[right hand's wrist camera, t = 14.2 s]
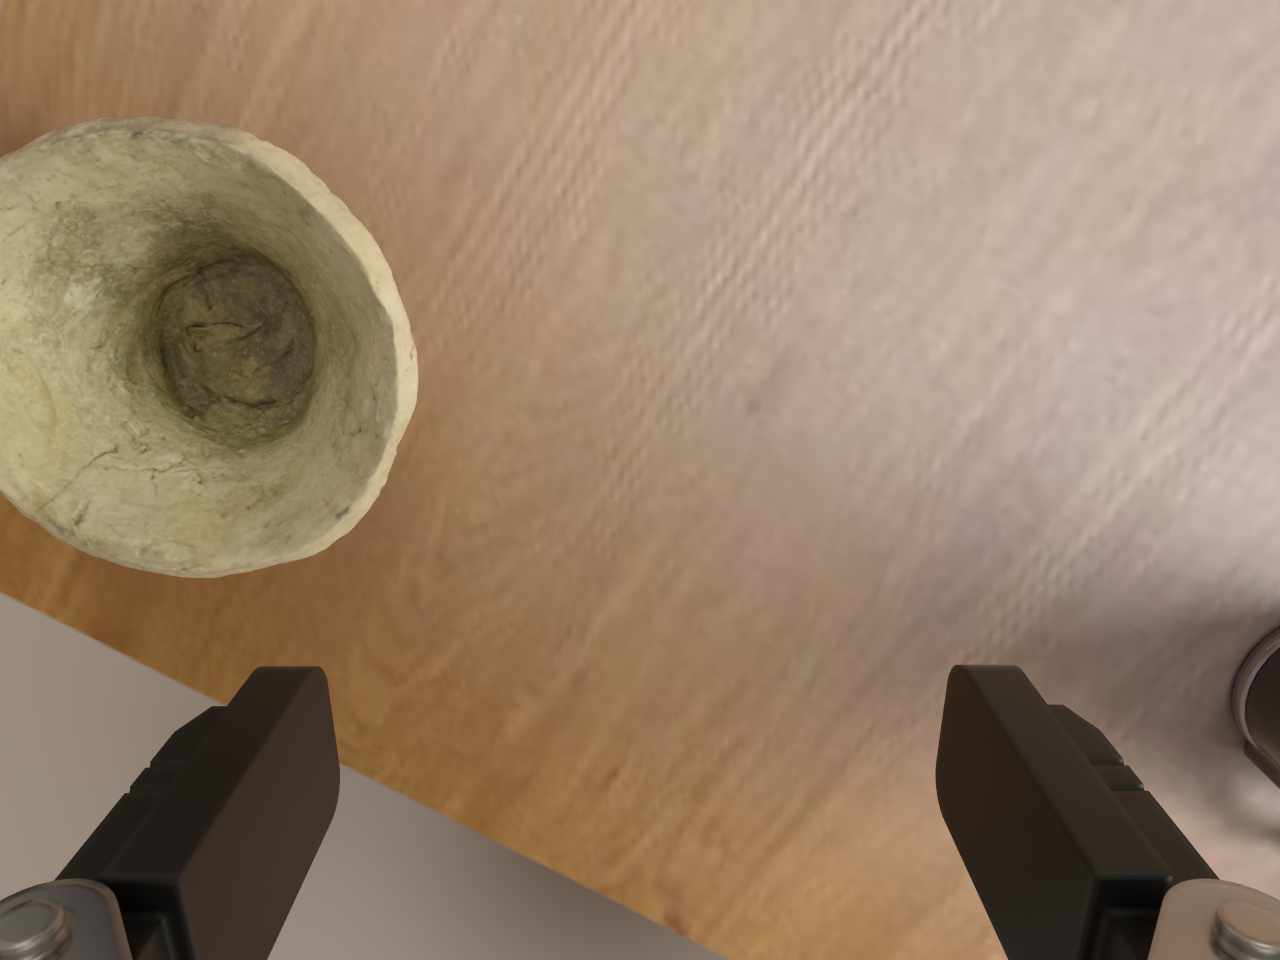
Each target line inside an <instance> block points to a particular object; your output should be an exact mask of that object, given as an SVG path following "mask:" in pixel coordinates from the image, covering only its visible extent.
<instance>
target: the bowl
mask: <svg viewBox="0 0 1280 960" xmlns="http://www.w3.org/2000/svg"><path fill="white" fill-rule="evenodd" d="M417 389H418V363H417V351H416V347H415V344H414V341H413V339H412V334H411V330H410V323H409V320H408V317H407V314H406V311H405V309H404V306H403V303H402V301H401V298H400V296H399V294H398V291H397V287H396V284H395V282H394V280H393V277H392V272H391V269H390V267H389V265H388V263H387V262H386V260H385V258H384V256H383V254H382V252H381V250H380V248H379V246H378V244H377V243H376V241H375V240H374V238H373V237H372V235H371V234H370V233H369V231H368V230H367V229H366V228H365V226H364V225H363V224H362V223H361V222H360V221H359V220H358V219H357V218H356V217H355V216H354V215H352V214H351V212H350V211H349V209H348V207H347V206H346V205H345V204H344V203H343V202H342V201H341V200H340V199H339V198H338V197H336V196H335V195H334V194H332V193H331V192H330V191H329V189H328V188H327V186H326V185H325V183H324V182H323V181H322V180H321V179H320V178H318V177H317V176H315V175H314V174H313V173H312V172H311V171H310V170H309V168H308V167H307V166H306V165H305V164H304V163H303V162H301V161H300V160H299V159H298V158H296V157H295V156H293V155H291V154H290V153H288V152H286V151H285V150H283V149H281V148H279V147H276V146H274V145H272V144H271V143H270V142H268V141H264V140H261V139H259V138H257V137H256V136H255V135H253V134H251V133H248V132H246V131H244V130H242V129H240V128H237V127H234V126H231V125H227V124H218V123H212V122H203V121H199V120H194V119H177V118H163V117H158V116H154V117H146V116H137V117H128V118H116V117H111V118H100V119H95V120H90V121H86V122H82V123H77V124H72V125H67V126H64V127H61V128H58V129H56V130H52V131H50V132H48V133H46V134H44V135H42V136H40V137H38V138H36V139H35V140H33V141H32V142H30V143H28V144H26V145H24V146H23V147H22V148H21V149H17V150H15V151H13V152H10V153H7V154H6V155H4V156H3V157H2V158H0V491H1V492H2V493H3V495H4V496H5V497H6V498H7V499H8V500H9V501H10V502H11V503H12V504H13V505H14V506H15V507H16V508H17V509H18V510H19V511H20V512H21V513H22V514H23V515H24V516H26V517H28V518H30V519H32V520H33V521H35V522H37V523H38V524H39V525H40V526H42V527H43V528H44V529H46V530H47V531H48V532H49V533H51V534H52V535H53V536H54V537H56V538H58V539H59V540H62V541H64V542H65V543H67V544H69V545H71V546H73V547H75V548H77V549H79V550H81V551H83V552H85V553H87V554H89V555H92V556H95V557H100V558H103V559H105V560H108V561H111V562H114V563H116V564H118V565H122V566H126V567H130V568H134V569H138V570H144V571H149V572H155V573H161V574H166V575H171V576H178V577H190V578H217V577H222V576H225V575H230V574H237V573H244V572H250V571H254V570H257V569H261V568H266V567H269V566H273V565H276V564H280V563H286V562H290V561H296V560H300V559H304V558H307V557H309V556H313V555H315V554H317V553H318V552H320V551H323V550H325V549H326V548H328V547H329V546H330V545H331V544H332V543H334V542H335V541H336V540H337V539H339V538H340V537H342V536H343V535H345V534H347V533H348V532H349V531H350V530H351V529H352V528H353V527H354V526H355V525H356V524H357V523H358V521H359V520H360V519H361V518H362V517H363V516H364V515H365V514H366V513H367V512H368V510H369V509H370V507H371V506H372V504H373V503H374V501H375V500H376V499H377V497H378V496H379V494H380V490H381V489H382V488H383V486H384V485H385V484H386V481H387V478H388V477H387V475H388V473H389V471H390V469H391V466H392V464H393V461H394V458H395V456H396V455H397V451H396V449H397V445H398V444H399V441H400V440H401V438H402V436H403V434H404V433H405V430H406V427H407V425H408V423H409V421H410V419H411V416H412V414H413V411H414V409H415V406H416V403H417Z"/></svg>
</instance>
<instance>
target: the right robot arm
mask: <svg viewBox="0 0 1280 960" xmlns="http://www.w3.org/2000/svg"><path fill="white" fill-rule="evenodd" d="M1232 710H1233V715H1234V719H1235V722H1236V724H1237V726H1238V728H1239V730H1240V731H1241V733H1242V734H1243V735H1244V737H1245V738H1246V739H1247V746H1246V749H1245V755H1246V756H1247V757H1248V758H1249V759H1250V760H1251V761H1252V762H1253V763H1254V764H1255V765H1256V766H1257V767H1258V768H1259V769H1260V770H1261V771H1262V772H1263V773H1264V774H1265V775H1266V776H1267V777H1268V778H1269V779H1270V780H1271V781H1272V782H1273V783H1274V784H1275V785H1276V786H1277V787H1278V788H1279V789H1280V628H1278V629H1277V630H1275V631H1274V632H1273V633H1271V634H1270V635H1269V636H1268V637H1266V638H1265V639H1264V640H1263V641H1262V642H1261V643H1260V644H1259V645H1258V646H1257V647H1256V648H1255V649H1254V650H1253V652H1252V653H1251V654H1250V655H1249V657H1248V658H1247V660H1246V661H1245V662H1244V664H1243V666H1242V668H1241V669H1240V671H1239V674H1238V676H1237V678H1236V681H1235V685H1234V689H1233V695H1232ZM150 763H151V764H150V768H145V769H144V770H143V772H142V773H141V774H140V775H139V776H138V778H137V779H136V780H135V781H134V783H133V784H132V785H131V786H130V792H129V793H125V794H124V795H123V796H122V797H121V799H120V800H119V801H118V802H117V804H116V805H115V806H114V807H113V809H112V810H111V811H110V812H109V813H108V815H107V816H106V817H105V818H104V820H103V821H102V822H101V823H100V825H99V826H98V827H97V828H96V830H95V831H94V832H93V833H92V834H91V836H90V837H89V838H88V839H87V841H86V842H85V843H84V844H83V846H82V847H81V848H80V849H79V851H78V852H77V853H76V854H75V855H74V857H73V858H72V859H71V860H70V862H69V863H68V864H67V865H66V867H65V868H64V869H63V870H62V872H61V873H60V874H59V875H58V876H57V878H56V879H55V880H54V881H51V882H47V883H43V884H39V885H36V886H33V887H30V888H27V889H24V890H22V891H19V892H17V893H15V894H13V895H11V896H8V897H6V898H4V899H3V900H1V901H0V960H267V959H268V956H269V954H270V952H271V950H272V948H273V946H274V944H275V941H276V939H277V937H278V935H279V933H280V931H281V929H282V926H283V924H284V922H285V920H286V918H287V916H288V913H289V911H290V909H291V907H292V905H293V903H294V901H295V898H296V896H297V894H298V892H299V890H300V888H301V885H302V883H303V881H304V879H305V877H306V875H307V872H308V870H309V868H310V866H311V864H312V862H313V860H314V858H315V855H316V853H317V851H318V849H319V847H320V845H321V843H322V840H323V838H324V836H325V834H326V832H327V830H328V827H329V825H330V823H331V821H332V818H333V816H334V813H335V809H336V805H337V801H338V795H339V786H340V768H339V760H338V753H337V745H336V738H335V731H334V724H333V717H332V710H331V703H330V696H329V689H328V683H327V678H326V675H325V673H324V671H323V669H322V668H320V667H317V666H261V667H258V668H257V669H255V670H254V671H253V673H252V674H251V675H250V676H249V678H248V679H247V680H246V682H245V683H244V684H243V686H242V687H241V688H240V690H239V691H238V692H237V694H236V695H235V696H234V698H233V699H232V700H231V702H230V703H229V704H228V706H212V707H210V708H209V709H207V710H206V711H205V712H203V713H202V714H200V715H199V716H197V717H196V718H194V719H193V720H191V721H190V722H188V723H187V724H185V725H184V726H183V727H181V728H180V729H178V730H177V731H175V732H174V733H173V734H172V736H171V737H170V738H169V739H168V741H167V742H166V743H165V744H164V746H163V747H162V748H161V749H160V751H159V752H158V753H157V754H156V756H155V757H154V758H153V759H152V760H151V762H150ZM936 789H937V796H938V802H939V806H940V810H941V813H942V816H943V818H944V820H945V823H946V825H947V827H948V829H949V831H950V834H951V836H952V838H953V840H954V842H955V844H956V847H957V849H958V851H959V853H960V855H961V857H962V860H963V862H964V864H965V866H966V868H967V871H968V873H969V875H970V877H971V879H972V881H973V884H974V886H975V888H976V890H977V892H978V895H979V897H980V899H981V901H982V903H983V905H984V908H985V910H986V912H987V914H988V916H989V918H990V921H991V923H992V925H993V927H994V929H995V932H996V934H997V936H998V938H999V940H1000V942H1001V945H1002V947H1003V949H1004V951H1005V953H1006V956H1007V958H1008V960H1280V901H1279V900H1277V899H1276V898H1274V897H1272V896H1270V895H1267V894H1265V893H1263V892H1261V891H1258V890H1256V889H1253V888H1250V887H1247V886H1244V885H1241V884H1237V883H1233V882H1229V881H1224V880H1220V879H1219V878H1218V877H1217V876H1216V874H1215V873H1214V872H1213V871H1212V869H1211V868H1210V867H1209V866H1208V864H1207V863H1206V862H1205V861H1204V859H1203V858H1202V857H1201V856H1200V854H1199V853H1198V852H1197V851H1196V849H1195V848H1194V847H1193V846H1192V844H1191V843H1190V842H1189V841H1188V839H1187V838H1186V837H1185V836H1184V834H1183V833H1182V832H1181V831H1180V829H1179V828H1178V827H1177V826H1176V824H1175V823H1174V822H1173V821H1172V819H1171V818H1170V817H1169V816H1168V814H1167V813H1166V812H1165V811H1164V809H1163V808H1162V807H1161V806H1160V805H1159V803H1158V802H1157V801H1156V800H1155V798H1154V797H1153V796H1152V795H1151V793H1150V792H1149V791H1144V788H1143V783H1142V782H1141V781H1140V780H1139V778H1138V777H1137V776H1136V775H1135V773H1134V772H1133V771H1132V770H1131V768H1130V767H1129V766H1124V763H1123V758H1122V757H1121V756H1120V755H1119V753H1118V752H1117V751H1116V750H1115V748H1114V747H1113V746H1112V745H1111V743H1110V742H1109V741H1108V740H1107V738H1106V737H1105V736H1104V735H1103V733H1102V732H1101V731H1100V730H1099V729H1098V728H1096V727H1095V726H1093V725H1092V724H1090V723H1089V722H1087V721H1086V720H1084V719H1083V718H1081V717H1080V716H1079V715H1077V714H1076V713H1074V712H1073V711H1071V710H1070V709H1068V708H1067V707H1065V706H1064V705H1047V703H1046V702H1045V701H1044V699H1043V698H1042V697H1041V695H1040V694H1039V693H1038V691H1037V690H1036V689H1035V687H1034V686H1033V685H1032V683H1031V682H1030V680H1029V679H1028V678H1027V676H1026V675H1025V674H1024V672H1023V671H1022V670H1021V669H1020V668H1019V667H1018V666H1016V665H955V666H954V667H953V668H952V670H951V672H950V674H949V677H948V682H947V689H946V696H945V704H944V711H943V718H942V725H941V732H940V740H939V747H938V754H937V761H936Z"/></svg>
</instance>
